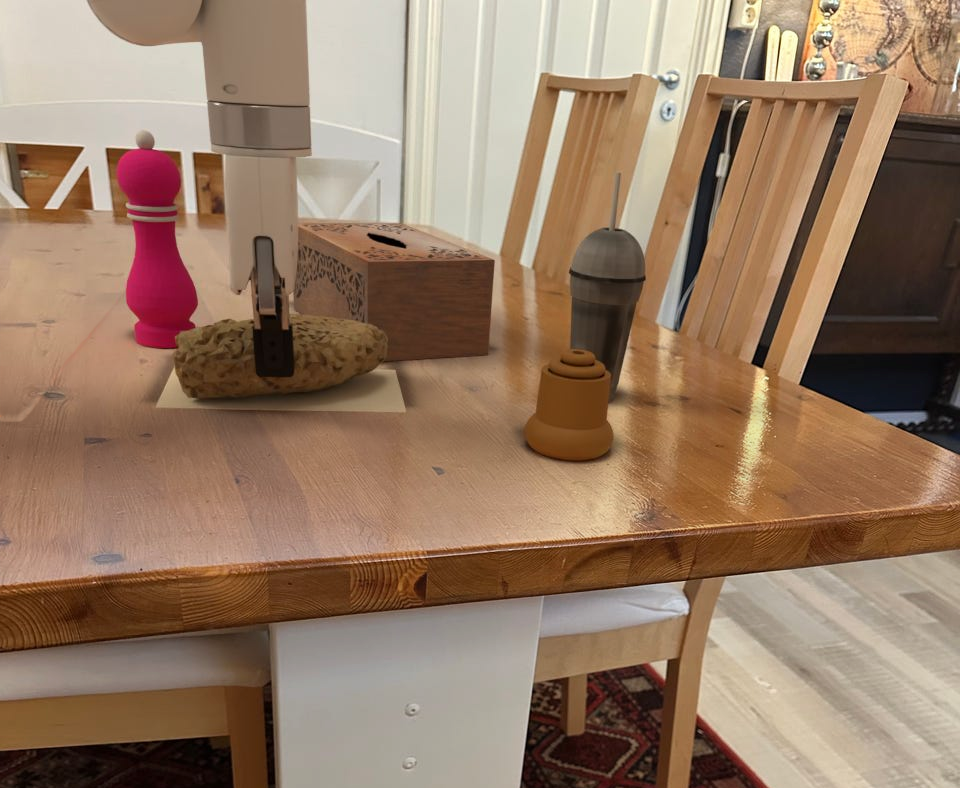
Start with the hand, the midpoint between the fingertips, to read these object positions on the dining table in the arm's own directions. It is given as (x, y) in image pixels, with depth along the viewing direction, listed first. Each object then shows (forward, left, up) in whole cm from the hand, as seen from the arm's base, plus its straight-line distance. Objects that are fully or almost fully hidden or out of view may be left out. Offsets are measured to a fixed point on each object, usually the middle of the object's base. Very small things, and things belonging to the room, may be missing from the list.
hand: (275, 374), depth 80 cm
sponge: (+1, +8, -4) cm, 9 cm away
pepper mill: (-13, +24, -4) cm, 28 cm away
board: (0, +8, -4) cm, 9 cm away
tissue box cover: (+11, +32, -4) cm, 35 cm away
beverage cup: (+30, +7, -4) cm, 32 cm away
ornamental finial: (+24, -8, -4) cm, 26 cm away
